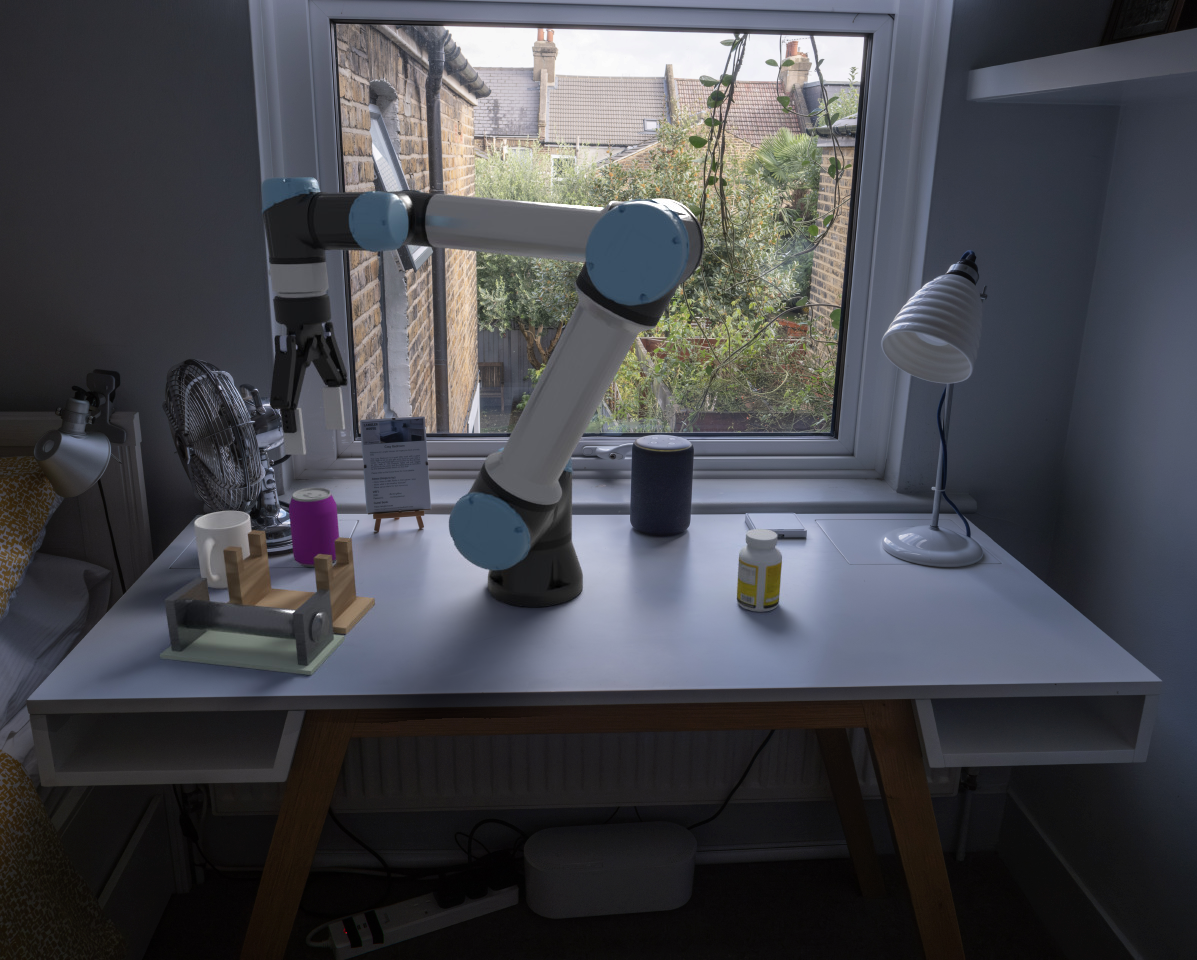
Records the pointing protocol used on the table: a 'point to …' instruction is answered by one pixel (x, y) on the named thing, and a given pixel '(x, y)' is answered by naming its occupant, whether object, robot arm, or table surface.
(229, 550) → the cradle
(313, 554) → the beverage can
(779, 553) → the pill bottle
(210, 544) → the mug
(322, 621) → the rod
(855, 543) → the table surface
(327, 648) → the mat
